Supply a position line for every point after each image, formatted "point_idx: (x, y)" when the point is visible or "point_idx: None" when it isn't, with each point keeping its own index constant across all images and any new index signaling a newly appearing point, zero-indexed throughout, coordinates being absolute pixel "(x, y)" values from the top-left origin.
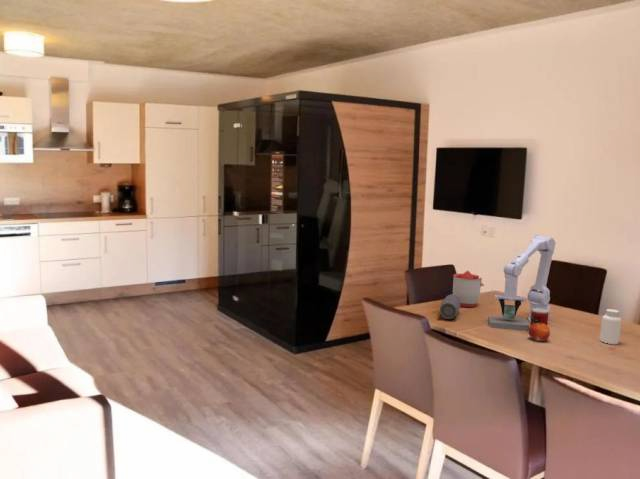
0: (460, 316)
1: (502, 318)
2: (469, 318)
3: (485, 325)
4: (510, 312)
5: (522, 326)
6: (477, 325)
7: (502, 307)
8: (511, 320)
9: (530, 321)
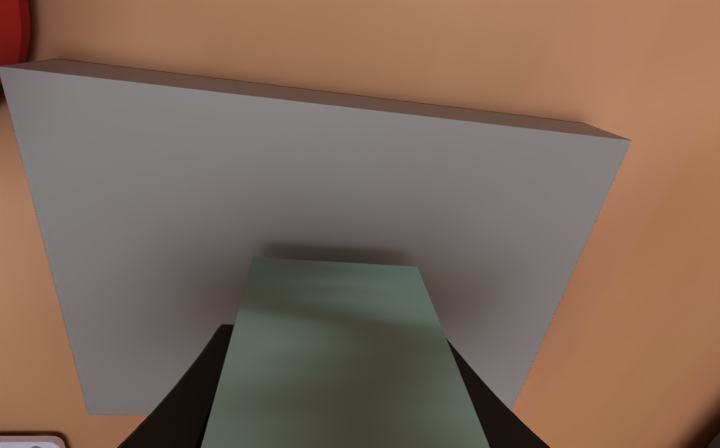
0: (681, 416)
1: None
2: (636, 385)
3: None
4: (324, 340)
5: (140, 76)
6: (703, 167)
7: (521, 437)
8: None
9: (52, 436)
